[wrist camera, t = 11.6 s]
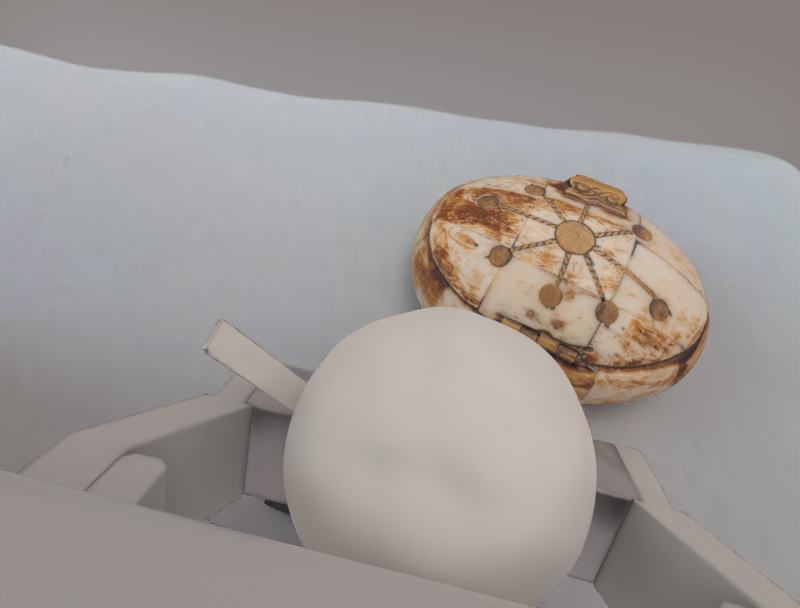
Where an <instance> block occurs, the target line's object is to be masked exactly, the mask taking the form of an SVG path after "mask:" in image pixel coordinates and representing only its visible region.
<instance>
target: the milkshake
mask: <svg viewBox="0 0 800 608" xmlns="http://www.w3.org/2000/svg"><path fill="white" fill-rule="evenodd" d="M203 351H204V352H205V353H206V354H208V355H209V356H210V357H212V358H213V359H215V360H216V361H218V362H219V363H221V364H222V365H224V366H225V367H227V368H228V369H230V370H231V371H233V372H234V373H236V374H237V375H239V376H240V377H242V378H243V379H245V380H246V381H248V382H249V383H251V384H252V385H254V386H255V387H257V388H258V389H260V390H261V391H263V392H264V393H266V394H267V395H269V396H270V397H272V398H273V399H275V400H276V401H278V402H280V403H281V404H283V405H284V406H286V407H287V408H289V409H290V410H292V411H293V412H294V413H293V416H292V419H291V422H290V425H289V429H288V433H287V438H286V443H285V450H284V459H283V479H284V488H285V495H286V500H287V504H288V508H289V512H290V515H291V518H292V521H293V524H294V527H295V529H296V532H297V534H298V536H299V539H300V541H301V543H302V545H303V547H304V548H307V549H311V550H315V551H319V552H323V553H327V554H331V555H334V556H338V557H342V558H346V559H350V560H354V561H358V562H362V563H366V564H369V565H373V566H377V567H381V568H385V569H389V570H393V571H397V572H401V573H404V574H408V575H412V576H416V577H420V578H424V579H428V580H432V581H436V582H439V583H443V584H447V585H451V586H455V587H459V588H463V589H467V590H471V591H474V592H478V593H482V594H486V595H490V596H494V597H498V598H502V599H506V600H509V601H513V602H517V603H521V604H525V605H529V606H533V607H534V606H535V605H537V604H538V603H539V602H540V601H541V600H543V599H544V598H545V597H546V596H547V595H548V594H549V593H550V592H552V591H553V590H554V589H555V588H556V587H557V586H558V585H559V584H560V583H561V581H562V580H563V579H564V578H565V577H566V576H567V575H568V573H569V572H570V571H571V569H572V568H573V566H574V565H575V563H576V562H577V560H578V558H579V556H580V554H581V552H582V549H583V546H584V544H585V541H586V538H587V535H588V532H589V528H590V524H591V520H592V516H593V511H594V504H595V496H596V483H597V467H596V456H595V450H594V444H593V440H592V436H591V432H590V429H589V426H588V423H587V420H586V417H585V414H584V412H583V409H582V407H581V404H580V402H579V399H578V397H577V395H576V393H575V391H574V389H573V387H572V385H571V383H570V381H569V379H568V378H567V376H566V374H565V373H564V371H563V370H562V369H561V367H560V366H559V365H558V363H557V362H556V361H555V360H554V359H553V358H552V357H551V355H549V354H548V353H547V352H546V351H545V350H544V349H543V348H542V347H541V346H540V345H538V344H537V343H536V342H534V341H533V340H532V339H530V338H529V337H527V336H525V335H524V334H522V333H520V332H518V331H516V330H514V329H512V328H510V327H508V326H506V325H504V324H501V323H499V322H497V321H494V320H492V319H489V318H487V317H484V316H482V315H479V314H476V313H474V312H471V311H468V310H464V309H460V308H455V307H445V306H441V307H430V308H424V309H419V310H414V311H410V312H406V313H403V314H399V315H395V316H391V317H387V318H384V319H380V320H377V321H375V322H372V323H369V324H367V325H365V326H363V327H361V328H359V329H357V330H356V331H354V332H353V333H351V334H350V335H348V336H347V337H346V338H344V339H343V340H342V341H341V342H340V343H339V344H337V345H336V346H335V347H334V348H333V349H332V351H331V352H330V353H329V354H328V355H327V356H326V357H325V358H324V360H323V361H322V362H321V364H320V365H319V366H318V368H317V369H316V370H315V372H314V373H313V375H312V376H311V378H310V379H309V381H308V383H306V382H305V381H304V380H303V379H301V378H300V377H299V376H297V375H296V374H295V373H294V372H292V371H291V370H290V369H288V368H287V367H286V366H285V365H283V364H282V363H281V362H279V361H278V360H277V359H276V358H274V357H273V356H272V355H270V354H269V353H268V352H266V351H265V350H264V349H263V348H261V347H260V346H259V345H257V344H256V343H255V342H254V341H252V340H251V339H250V338H248V337H247V336H246V335H245V334H243V333H242V332H241V331H239V330H238V329H237V328H235V327H234V326H233V325H231V324H230V323H229V322H227V321H226V320H224V319H220V320H219V321H218V322H217V323H216V325H215V326H214V328H213V330H212V332H211V333H210V335H209V337H208V338H207V340H206V342H205V344H204V346H203Z"/></svg>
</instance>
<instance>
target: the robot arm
mask: <svg viewBox="0 0 800 608" xmlns="http://www.w3.org/2000/svg"><path fill="white" fill-rule="evenodd" d="M282 364H283V363H282ZM283 365H285V366H286V367H287V368H288V369H290V370H291V371H292V372H294V373H295V374H296V375H297V376H299V377H300V378H301V379H303V380H304V381H305V382H306V383H308V381H309V379H310V378H311V376H312V375H313V373H314V372H313V371H309V370H305V369H302V368H298V367H294V366H290V365H286V364H283ZM293 413H294V412H293V411H292V410H290V409H289V408H287V407H286V406H284V405H283V404H281V403H280V402H278V401H276V400H275V399H273V398H272V397H270V396H269V395H267V394H266V393H264V392H263V391H261V390H260V389H258V388H257V387H255V386H254V385H252V384H251V383H249V382H248V381H246V380H245V379H243V378H242V377H240V376H239V375H237V374H236V373H235V374H234V375H233V376H232V377H231V378H230V379H229V381H228V382H227V383H226V384H225V385H224V386H223V387H222V388H221V389H220V390H219V391H218V392H217V394H216V395H215V396H213V395H208V394H205V395H202V396H198V397H194V398H191V399H187V400H184V401H180V402H177V403H173V404H170V405H166V406H163V407H159V408H156V409H152V410H149V411H145V412H142V413H138V414H135V415H131V416H128V417H124V418H121V419H117V420H113V421H110V422H106V423H103V424H99V425H96V426H92V427H89V428H85V429H82V430H78V431H75V432H71V433H68V434H67V435H65V436H64V437H63V438H62V439H60V440H59V441H58V442H56V443H55V444H54V445H53V446H51V447H50V448H49V449H47V450H46V451H45V452H44V453H42V454H41V455H40V456H38V457H37V458H36V459H35V460H33V461H32V462H31V463H29V464H28V465H27V466H26V467H24V468H23V469H22V470H20V471H19V472H18V473H17V474H16V473H12V472H8V471H4V470H0V608H537V607H533V606H529V605H525V604H521V603H517V602H513V601H509V600H506V599H502V598H498V597H494V596H490V595H486V594H482V593H478V592H474V591H471V590H467V589H463V588H459V587H455V586H451V585H447V584H443V583H439V582H436V581H432V580H428V579H424V578H420V577H416V576H412V575H408V574H404V573H401V572H397V571H393V570H389V569H385V568H381V567H377V566H373V565H369V564H366V563H362V562H358V561H354V560H350V559H346V558H342V557H338V556H334V555H331V554H327V553H323V552H319V551H315V550H311V549H307V548H303V547H299V546H296V545H292V544H288V543H284V542H280V541H276V540H272V539H268V538H264V537H261V536H257V535H253V534H249V533H245V532H241V531H237V530H233V529H229V528H226V527H222V526H218V525H214V524H210V523H206V522H203V521H204V520H206V519H208V518H209V517H211V516H212V515H214V514H216V513H217V512H219V511H220V510H222V509H223V508H225V507H227V506H228V505H230V504H231V503H233V502H234V501H236V500H238V499H239V498H241V497H242V494H244V495H248V496H253V497H257V498H262V499H266V500H271V501H275V502H280V503H284V504H287V500H286V495H285V488H284V479H283V459H284V450H285V443H286V438H287V433H288V429H289V425H290V422H291V419H292V416H293ZM592 440H593V439H592ZM593 444H594V450H595V456H596V467H597V483H596V496H595V504H594V511H593V516H592V520H591V524H590V528H589V532H588V535H587V538H586V541H585V544H584V546H583V549H582V552H581V554H580V556H579V558H578V560H577V562H576V563H575V565H574V566H573V568H572V569H571V571H570V572H569V573H568V575H567V576H569V577H573V578H576V579H580V580H583V581H587V582H590V583H594V585H593V586H594V587H595V589H596V590H597V591H598V593H599V594H600V595H601V597H602V598H603V600H604V601H605V602H606V604H607V605H608V606H609V608H800V603H799V602H798V601H797V600H796V599H794V598H793V597H792V596H790V595H789V594H788V593H787V592H785V591H784V590H783V589H782V588H780V587H779V586H778V585H776V584H775V583H774V582H773V581H771V580H770V579H769V578H767V577H766V576H765V575H764V574H762V573H761V572H760V571H758V570H757V569H756V568H755V567H753V566H752V565H751V564H750V563H748V562H747V561H746V560H744V559H743V558H742V557H741V556H739V555H738V554H737V553H735V552H734V551H733V550H732V549H730V548H729V547H728V546H726V545H725V544H724V543H723V542H721V541H720V540H719V539H718V538H716V537H715V536H714V535H712V534H711V533H710V532H709V531H707V530H706V529H705V528H703V527H702V526H701V525H700V524H698V523H697V522H696V521H694V520H693V519H692V518H691V517H689V516H688V515H687V514H686V513H684V512H682V511H678V510H675V509H674V508H673V506H672V505H671V503H670V501H669V499H668V497H667V496H666V494H665V492H664V490H663V489H662V487H661V485H660V483H659V481H658V480H657V478H656V476H655V474H654V473H653V471H652V469H651V467H650V465H649V464H648V462H647V460H646V458H645V456H644V455H643V453H642V452H641V451H639V450H638V449H635V448H630V447H625V446H620V445H615V444H611V443H607V442H602V441H598V440H593Z"/></svg>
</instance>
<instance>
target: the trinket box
mask: <svg viewBox="0 0 800 608" xmlns="http://www.w3.org/2000/svg"><path fill="white" fill-rule="evenodd" d="M626 202H627V198H626V196H625V194H624V193H623V191H622V190H619V189H617V188H615V187H612V186H609V185H607V184H604V183H602V182H599V181H596V180H593V179H591V178H588V177H585V176H582V175H577V176H576V177H572V178H570V179H568V180H566V181H565V182H562V181H557V180H551V179H546V178H538V177H528V176H519V175H518V176H498V177H490V178H484V179H479V180H474V181H470V182H467V183H464V184H461V185H459V186H457V187H455V188H453V189H452V190H450V191H449V192H447V193H446V194H445V195H444V196H443V197H442V198H441V199H439V200H438V202H437V203H436V204H435V205H434V206H433V207H432V208H431V209H430V211H429V212H428V214H427V215H426V217H425V218H424V220H423V222H422V224H421V226H420V228H419V230H418V232H417V235H416V238H415V241H414V245H413V249H412V256H411V272H412V279H413V284H414V289H415V292H416V296H417V299H418V301H419V304H420V306H421V308H422V309H424V308H430V307H441V306H445V307H455V308H460V309H464V310H468V311H471V312H474V313H476V314H479V315H482V316H484V317H487V318H489V319H492V320H494V321H497V322H499V323H501V324H504V325H506V326H508V327H510V328H512V329H514V330H516V331H518V332H520V333H522V334H524V335H525V336H527V337H529V338H530V339H532V340H533V341H534V342H536V343H537V344H538V345H540V346H541V347H542V348H543V349H544V350H545V351H546V352H547V353H548V354H549V355H551V357H552V358H553V359H554V360H555V361H556V362H557V363H558V365H559V366H560V367H561V369H562V370H563V371H564V373H565V374H566V376H567V378H568V379H569V381H570V383H571V385H572V387H573V389H574V391H575V393H576V395H577V397H578V399H579V402H580V403H582V404H616V403H624V402H629V401H634V400H639V399H643V398H647V397H650V396H653V395H656V394H658V393H660V392H663V391H665V390H667V389H668V388H670V387H671V386H673V385H674V384H676V383H677V382H678V381H680V380H681V379H682V378H683V377H684V376H685V375H686V374H687V373H688V372H689V371H690V370H691V368H692V367H693V366H694V365H695V363H696V362H697V360H698V358H699V357H700V355H701V353H702V350H703V348H704V345H705V342H706V339H707V334H708V328H709V310H708V304H707V300H706V295H705V291H704V288H703V285H702V282H701V279H700V277H699V275H698V273H697V271H696V269H695V267H694V266H693V264H692V263H691V261H690V260H689V259H688V258H687V256H686V255H685V254H684V253H683V252H682V251H681V250H680V248H679V247H678V246H677V245H676V244H675V243H674V242H673V241H672V240H671V239H670V238H669V237H668V236H667V235H666V234H664V233H663V232H662V231H661V230H660V229H659V228H658V227H656V226H655V225H654V224H653V223H651V222H650V221H649V220H647V219H646V218H644V217H643V216H641V215H640V214H639V213H637V212H635V211H634V210H632V209H630V208H628V207H627V206H625V205H624V204H625V203H626Z"/></svg>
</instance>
